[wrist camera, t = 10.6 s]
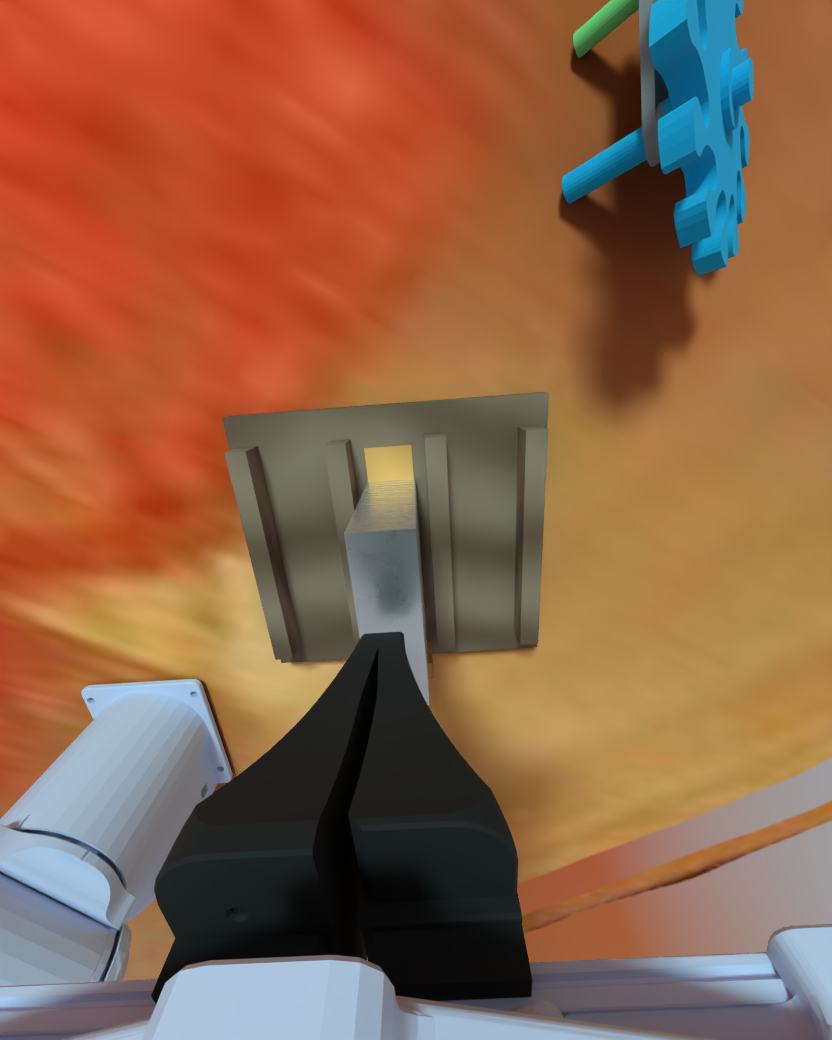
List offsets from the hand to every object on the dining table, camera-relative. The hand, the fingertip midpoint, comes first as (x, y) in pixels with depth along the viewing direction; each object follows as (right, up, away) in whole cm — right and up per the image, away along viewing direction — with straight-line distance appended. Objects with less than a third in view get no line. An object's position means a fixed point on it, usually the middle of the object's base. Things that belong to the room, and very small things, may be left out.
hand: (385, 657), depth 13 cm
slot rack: (0, +4, +9) cm, 10 cm away
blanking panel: (0, +3, +8) cm, 9 cm away
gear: (+11, +20, +3) cm, 23 cm away
